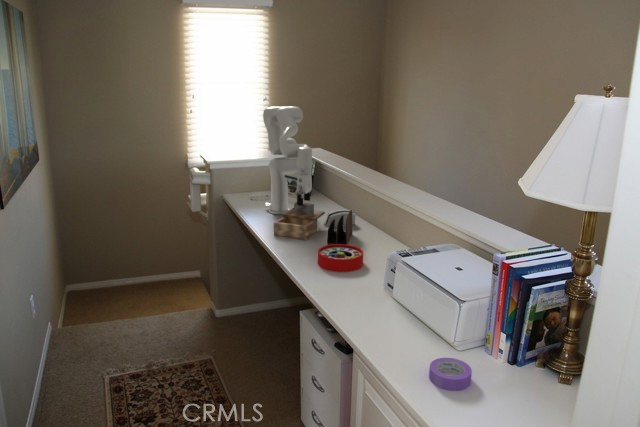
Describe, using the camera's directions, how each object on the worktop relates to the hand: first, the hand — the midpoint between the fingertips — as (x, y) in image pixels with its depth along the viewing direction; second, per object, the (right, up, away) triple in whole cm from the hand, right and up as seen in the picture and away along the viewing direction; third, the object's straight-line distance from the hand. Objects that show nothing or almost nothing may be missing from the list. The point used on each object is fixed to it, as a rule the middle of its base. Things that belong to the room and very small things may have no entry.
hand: (303, 202), depth 292 cm
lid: (0, -6, +1) cm, 6 cm away
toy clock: (+18, -28, -45) cm, 56 cm away
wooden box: (-4, -16, -7) cm, 18 cm away
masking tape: (+46, -53, -132) cm, 149 cm away
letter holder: (+18, -19, -14) cm, 30 cm away
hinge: (+20, -12, +9) cm, 25 cm away
